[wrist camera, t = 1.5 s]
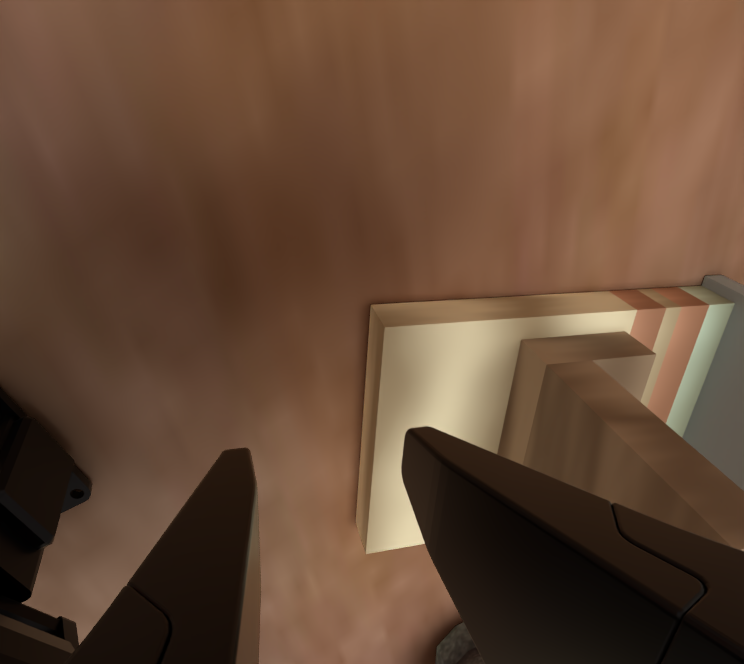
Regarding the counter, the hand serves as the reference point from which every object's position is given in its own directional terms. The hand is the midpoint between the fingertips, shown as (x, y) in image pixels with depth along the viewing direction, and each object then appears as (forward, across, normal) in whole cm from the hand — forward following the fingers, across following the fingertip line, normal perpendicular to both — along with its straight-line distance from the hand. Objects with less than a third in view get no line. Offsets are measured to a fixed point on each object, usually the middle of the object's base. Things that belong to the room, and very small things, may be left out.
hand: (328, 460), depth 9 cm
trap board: (+13, +13, -10) cm, 21 cm away
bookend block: (+11, +13, -10) cm, 19 cm away
